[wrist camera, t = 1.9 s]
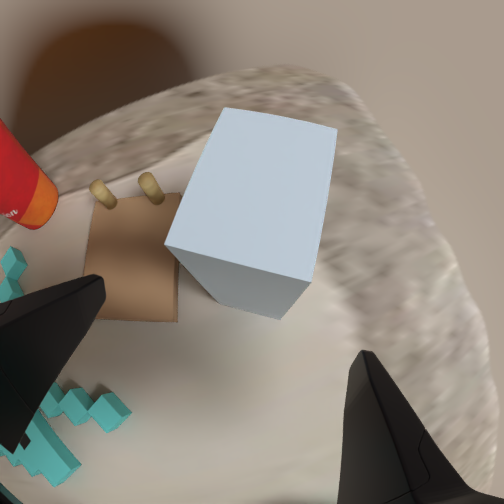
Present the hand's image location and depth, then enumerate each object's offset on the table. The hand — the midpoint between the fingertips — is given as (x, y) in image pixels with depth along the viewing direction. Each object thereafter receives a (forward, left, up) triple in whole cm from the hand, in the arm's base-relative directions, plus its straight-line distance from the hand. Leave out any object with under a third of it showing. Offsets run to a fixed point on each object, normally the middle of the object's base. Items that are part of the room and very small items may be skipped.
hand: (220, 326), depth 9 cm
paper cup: (+22, +11, -12) cm, 27 cm away
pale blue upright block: (+3, -4, -11) cm, 12 cm away
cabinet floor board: (+10, +4, -11) cm, 16 cm away
